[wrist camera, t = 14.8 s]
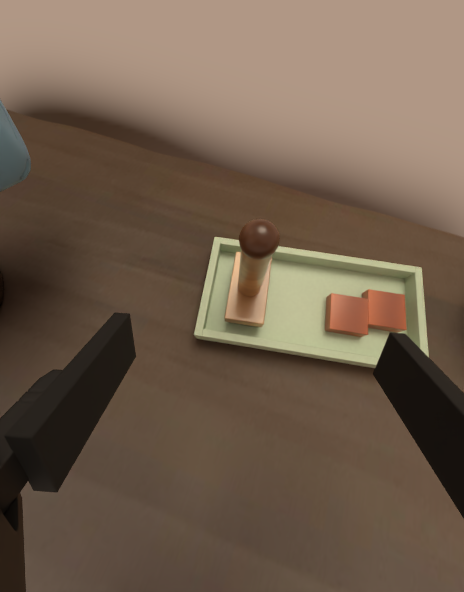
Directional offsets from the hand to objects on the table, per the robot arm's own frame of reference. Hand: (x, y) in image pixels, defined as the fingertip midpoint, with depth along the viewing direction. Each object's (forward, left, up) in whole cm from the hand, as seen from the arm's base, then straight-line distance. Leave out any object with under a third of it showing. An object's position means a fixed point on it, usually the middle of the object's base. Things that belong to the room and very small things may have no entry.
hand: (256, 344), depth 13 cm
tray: (+6, +8, -15) cm, 18 cm away
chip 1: (+10, +7, -14) cm, 19 cm away
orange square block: (+14, +8, -14) cm, 22 cm away
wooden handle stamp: (-1, +8, -14) cm, 16 cm away
